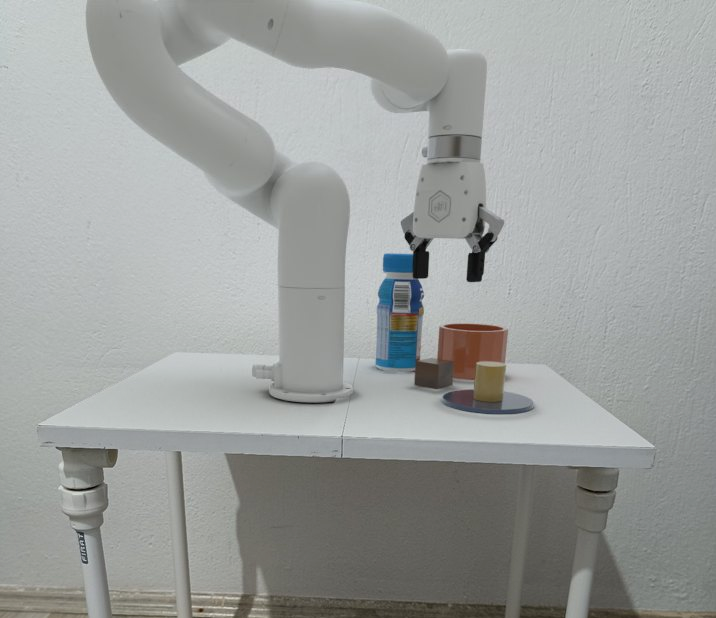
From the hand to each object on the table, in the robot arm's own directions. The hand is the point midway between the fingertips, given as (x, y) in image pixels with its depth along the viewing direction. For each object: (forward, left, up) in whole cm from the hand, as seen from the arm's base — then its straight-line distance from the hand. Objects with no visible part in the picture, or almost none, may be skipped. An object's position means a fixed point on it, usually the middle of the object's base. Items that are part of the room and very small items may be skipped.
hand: (446, 280), depth 99 cm
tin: (+5, +13, -17) cm, 22 cm away
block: (-1, +1, -17) cm, 17 cm away
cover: (+7, -10, -16) cm, 20 cm away
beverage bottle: (-8, +17, -17) cm, 25 cm away
